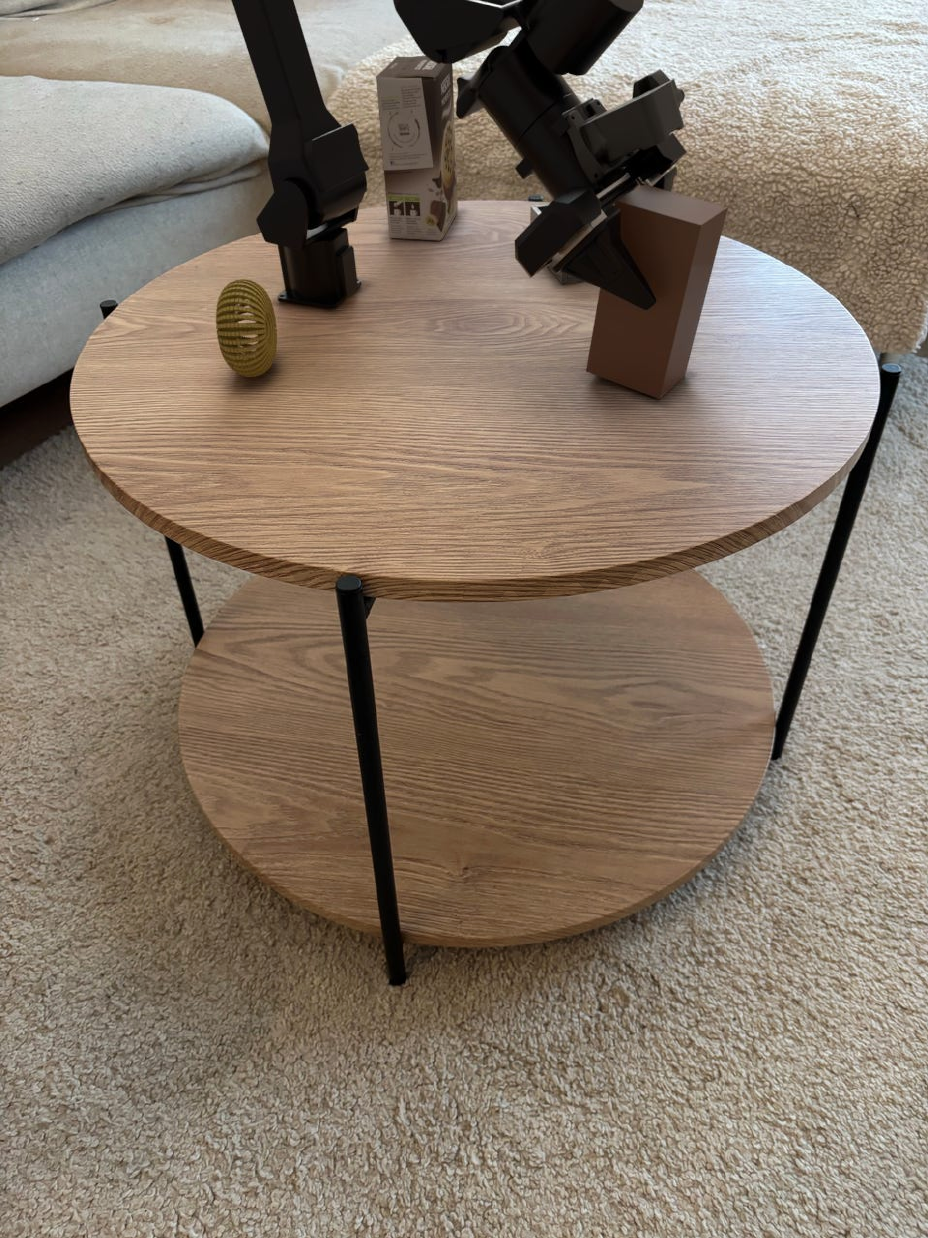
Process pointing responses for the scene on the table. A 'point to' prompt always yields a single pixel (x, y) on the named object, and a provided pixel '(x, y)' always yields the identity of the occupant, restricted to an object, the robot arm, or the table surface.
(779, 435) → the table surface
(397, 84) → the coffee box
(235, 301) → the sculpture
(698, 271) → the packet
